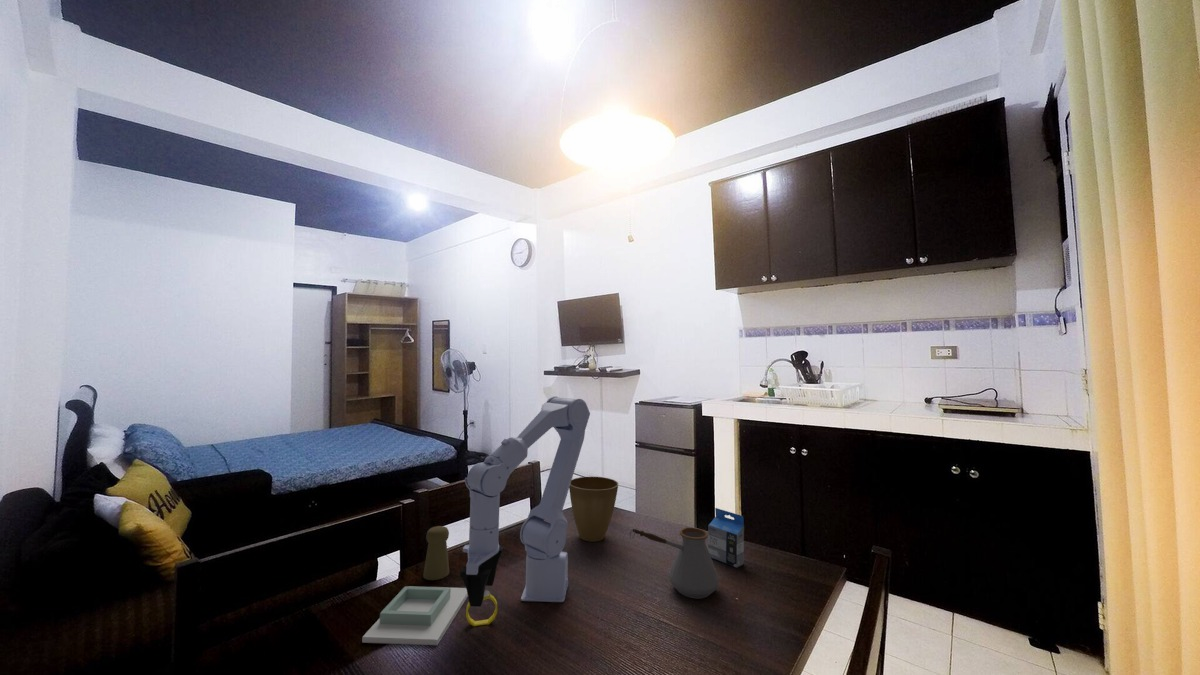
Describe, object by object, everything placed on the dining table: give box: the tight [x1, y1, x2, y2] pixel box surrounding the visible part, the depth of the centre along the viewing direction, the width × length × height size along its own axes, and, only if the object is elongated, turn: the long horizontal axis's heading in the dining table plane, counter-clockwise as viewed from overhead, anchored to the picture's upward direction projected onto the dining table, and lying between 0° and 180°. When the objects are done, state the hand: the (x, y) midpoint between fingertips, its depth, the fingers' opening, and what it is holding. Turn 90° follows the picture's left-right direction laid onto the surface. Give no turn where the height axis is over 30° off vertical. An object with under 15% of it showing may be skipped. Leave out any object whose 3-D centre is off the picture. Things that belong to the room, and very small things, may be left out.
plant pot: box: [568, 476, 619, 543], centre depth 129 cm, size 15×15×16 cm
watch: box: [465, 589, 498, 627], centre depth 86 cm, size 6×3×6 cm, turn 105°
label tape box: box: [707, 507, 745, 568], centre depth 115 cm, size 9×4×12 cm, turn 42°
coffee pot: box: [629, 526, 720, 600], centre depth 99 cm, size 21×12×15 cm, turn 105°
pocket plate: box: [361, 585, 468, 646], centre depth 88 cm, size 14×18×3 cm
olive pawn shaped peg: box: [422, 525, 450, 581], centre depth 106 cm, size 6×6×11 cm
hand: (482, 594), depth 86 cm, fingers open, 7 cm apart
